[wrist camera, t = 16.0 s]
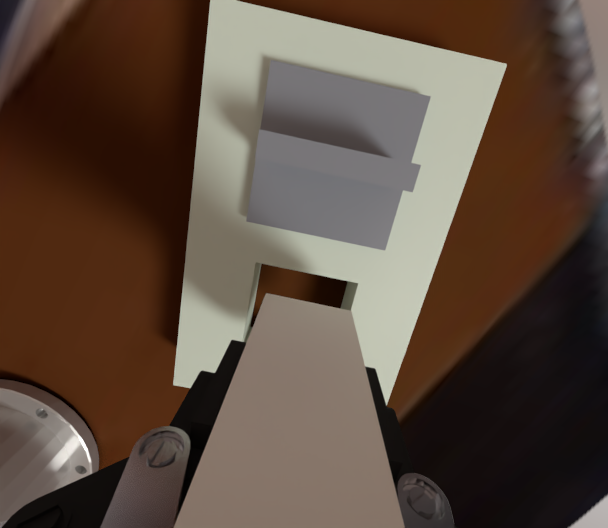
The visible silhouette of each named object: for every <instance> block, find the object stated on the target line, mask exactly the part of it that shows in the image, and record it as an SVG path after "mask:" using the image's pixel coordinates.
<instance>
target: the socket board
mask: <svg viewBox="0 0 608 528" xmlns="http://www.w3.org/2000/svg"><path fill="white" fill-rule="evenodd" d="M271 60H274V61H279V62H283V63H287V64H292V65H296V66H300V67H305V68H309V69H313V70H318V71H322V72H326V73H331V74H335V75H340V76H344V77H348V78H353V79H357V80H361V81H366V82H370V83H374V84H379V85H383V86H388V87H392V88H396V89H401V90H405V91H409V92H414V93H418V94H422V95H427V96H431V98H430V101H429V105H428V108H427V111H426V115H425V118H424V121H423V125H422V128H421V131H420V135H419V138H418V142H417V145H416V148H415V152H414V155H413V158H412V162H411V163H415V164H419V165H421V167H420V170H419V173H418V177H417V180H416V183H415V186H414V190H413V192H409V191H404V190H403V192H402V196H401V199H400V202H399V206H398V209H397V212H396V216H395V219H394V222H393V226H392V229H391V233H390V236H389V239H388V243H387V246H386V249H385V251H384V250H380V249H375V248H370V247H365V246H361V245H356V244H351V243H346V242H342V241H337V240H332V239H327V238H323V237H318V236H313V235H308V234H303V233H299V232H294V231H289V230H284V229H280V228H275V227H270V226H265V225H261V224H256V223H251V222H246V220H247V213H248V206H249V200H250V193H251V187H252V180H253V174H254V167H255V161H256V158H255V154H256V148H257V141H258V134H259V129H260V128H261V121H262V115H263V108H264V101H265V95H266V88H267V82H268V75H269V69H270V62H271ZM506 66H507V64H504V63H500V62H496V61H492V60H487V59H483V58H479V57H475V56H470V55H466V54H462V53H458V52H453V51H449V50H445V49H441V48H436V47H432V46H428V45H424V44H419V43H415V42H411V41H407V40H402V39H398V38H394V37H390V36H385V35H381V34H377V33H373V32H368V31H364V30H360V29H356V28H351V27H347V26H343V25H339V24H334V23H330V22H326V21H322V20H317V19H313V18H309V17H305V16H300V15H296V14H292V13H288V12H283V11H279V10H275V9H271V8H266V7H262V6H258V5H254V4H249V3H245V2H241V1H237V0H210V9H209V19H208V29H207V40H206V50H205V60H204V71H203V81H202V92H201V102H200V112H199V123H198V133H197V144H196V154H195V164H194V175H193V185H192V195H191V206H190V216H189V227H188V237H187V247H186V258H185V268H184V279H183V289H182V299H181V310H180V320H179V330H178V341H177V351H176V362H175V372H174V382H173V385H176V386H182V387H187V388H191V387H192V385H193V383H194V381H195V380H196V378H197V376H198V374H199V373H200V371H207V372H212V373H215V372H216V370H217V368H218V366H219V364H220V362H221V360H222V358H223V356H224V354H225V352H226V350H227V348H228V346H229V344H230V342H231V340H236V341H241V342H246V343H247V340H248V338H249V335H250V333H251V330H252V328H253V327H251V321H252V315H253V309H254V304H255V298H256V292H257V287H258V281H259V275H260V269H261V264H267V265H271V266H276V267H281V268H286V269H291V270H296V271H301V272H305V273H310V274H315V275H320V276H325V277H330V278H335V279H339V280H344V281H348V282H347V286H346V289H345V293H344V297H343V301H342V304H341V308H340V309H345V310H350V311H352V315H353V320H354V324H355V328H356V332H357V336H358V340H359V344H360V348H361V352H362V356H363V360H364V364H365V367H370V368H375V369H376V372H377V376H378V379H379V382H380V386H381V389H382V393H383V396H384V399H385V403H386V406H387V403H388V400H389V397H390V394H391V392H392V389H393V386H394V383H395V380H396V377H397V375H398V372H399V369H400V366H401V363H402V360H403V358H404V355H405V352H406V349H407V346H408V343H409V341H410V338H411V335H412V332H413V329H414V327H415V324H416V321H417V318H418V315H419V312H420V310H421V307H422V304H423V301H424V298H425V295H426V293H427V290H428V287H429V284H430V281H431V278H432V276H433V273H434V270H435V267H436V264H437V261H438V259H439V256H440V253H441V250H442V247H443V244H444V242H445V239H446V236H447V233H448V230H449V227H450V225H451V222H452V219H453V216H454V213H455V210H456V208H457V205H458V202H459V199H460V196H461V194H462V191H463V188H464V185H465V182H466V179H467V177H468V174H469V171H470V168H471V165H472V162H473V160H474V157H475V154H476V151H477V148H478V145H479V143H480V140H481V137H482V134H483V131H484V128H485V126H486V123H487V120H488V117H489V114H490V111H491V109H492V106H493V103H494V100H495V97H496V94H497V92H498V89H499V86H500V83H501V80H502V77H503V75H504V72H505V69H506Z"/></svg>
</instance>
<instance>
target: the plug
mask: <svg viewBox="0 0 608 528" xmlns="http://www.w3.org/2000/svg"><path fill="white" fill-rule="evenodd" d="M174 528H405V527H404V522H403V518H402V514H401V510H400V506H399V502H398V498H397V494H396V490H395V486H394V482H393V478H392V474H391V470H390V466H389V462H388V458H387V453H386V449H385V445H384V441H383V437H382V433H381V429H380V425H379V421H378V417H377V413H376V409H375V405H374V401H373V397H372V393H371V389H370V384H369V380H368V376H367V372H366V368H365V364H364V360H363V356H362V352H361V348H360V344H359V340H358V336H357V332H356V328H355V324H354V320H353V315H352V311H350V310H345V309H340V308H335V307H331V306H326V305H321V304H316V303H311V302H306V301H302V300H297V299H292V298H287V297H282V296H277V295H273V294H268V293H266V295H265V297H264V300H263V302H262V305H261V308H260V310H259V313H258V315H257V318H256V320H255V323H254V325H253V328H252V330H251V333H250V335H249V338H248V340H247V343H246V346H245V348H244V351H243V353H242V356H241V358H240V361H239V363H238V366H237V368H236V371H235V373H234V376H233V378H232V381H231V384H230V386H229V389H228V391H227V394H226V396H225V399H224V401H223V404H222V406H221V409H220V411H219V414H218V416H217V419H216V422H215V424H214V427H213V429H212V432H211V434H210V437H209V439H208V442H207V444H206V447H205V449H204V452H203V454H202V457H201V460H200V462H199V465H198V467H197V470H196V472H195V475H194V477H193V480H192V482H191V485H190V487H189V490H188V492H187V495H186V498H185V500H184V503H183V505H182V508H181V510H180V513H179V515H178V518H177V520H176V523H175V525H174Z"/></svg>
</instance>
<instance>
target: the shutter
mask: <svg viewBox="0 0 608 528" xmlns="http://www.w3.org/2000/svg"><path fill="white" fill-rule="evenodd" d="M430 98H431V96H427V95H422V94H418V93H414V92H409V91H405V90H401V89H396V88H392V87H388V86H383V85H379V84H374V83H370V82H366V81H361V80H357V79H353V78H348V77H344V76H340V75H335V74H331V73H326V72H322V71H318V70H313V69H309V68H305V67H300V66H296V65H292V64H287V63H283V62H279V61H274V60H271V62H270V69H269V75H268V82H267V88H266V95H265V101H264V108H263V115H262V121H261V128H260V129H259V134H258V141H257V148H256V154H255V158H256V161H255V167H254V174H253V180H252V187H251V193H250V200H249V206H248V213H247V220H246V222H251V223H256V224H261V225H265V226H270V227H275V228H280V229H284V230H289V231H294V232H299V233H303V234H308V235H313V236H318V237H323V238H327V239H332V240H337V241H342V242H346V243H351V244H356V245H361V246H365V247H370V248H375V249H380V250H384V251H385V249H386V246H387V243H388V239H389V236H390V233H391V229H392V226H393V222H394V219H395V216H396V212H397V209H398V206H399V202H400V199H401V196H402V192H403V190H404V191H409V192H413V190H414V186H415V183H416V180H417V177H418V173H419V170H420V167H421V165H419V164H415V163H411V162H412V158H413V155H414V152H415V148H416V145H417V142H418V138H419V135H420V131H421V128H422V125H423V121H424V118H425V115H426V111H427V108H428V105H429V101H430Z"/></svg>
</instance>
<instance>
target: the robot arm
mask: <svg viewBox="0 0 608 528" xmlns="http://www.w3.org/2000/svg"><path fill="white" fill-rule="evenodd" d="M245 346H246V342H241V341H236V340H231V342H230V344H229V346H228V348H227V350H226V352H225V354H224V356H223V358H222V360H221V362H220V364H219V366H218V368H217V370H216V372H215V373H212V372H207V371H200V373H199V374H198V376H197V378H196V380H195V381H194V383H193V385H192V387H191V388H190V390H189V392H188V394H187V395H186V397H185V399H184V401H183V402H182V404H181V406H180V408H179V410H178V411H177V413H176V415H175V417H174V418H173V420H172V422H171V424H170V425H169V426H165V427H159V428H156V429H153V430H151V431H149V432H147V433H146V434H144V435H143V436H142V437H141V438H140V439H139V440H138V441H137V443H136V444H135V446H134V447H133V450H132V452H131V455H130V457H128V458H126V459H123V460H121V461H119V462H117V463H115V464H112V465H110V466H108V467H106V468H103V469H101V470H99V471H98V467H99V454H98V449H97V445H96V442H95V440H94V437H93V435H92V433H91V431H90V430H89V428H88V427H87V425H86V424H85V422H84V421H83V420H82V419H81V418H80V417H79V416H78V415H77V413H76V412H75V411H74V410H73V409H71V408H70V407H69V406H68V405H66V404H65V403H64V402H63V401H61V400H60V399H58V398H56V397H55V396H53V395H51V394H50V393H48V392H46V391H44V390H41V389H39V388H36V387H34V386H32V385H29V384H25V383H21V382H17V381H13V380H4V379H0V528H174V525H175V523H176V520H177V518H178V515H179V513H180V510H181V508H182V505H183V503H184V500H185V498H186V495H187V492H188V490H189V487H190V485H191V482H192V480H193V477H194V475H195V472H196V470H197V467H198V465H199V462H200V460H201V457H202V454H203V452H204V449H205V447H206V444H207V442H208V439H209V437H210V434H211V432H212V429H213V427H214V424H215V422H216V419H217V416H218V414H219V411H220V409H221V406H222V404H223V401H224V399H225V396H226V394H227V391H228V389H229V386H230V384H231V381H232V378H233V376H234V373H235V371H236V368H237V366H238V363H239V361H240V358H241V356H242V353H243V351H244V348H245ZM365 368H366V372H367V376H368V380H369V384H370V389H371V393H372V397H373V401H374V405H375V409H376V413H377V417H378V421H379V425H380V429H381V433H382V437H383V441H384V445H385V449H386V453H387V458H388V462H389V466H390V470H391V474H392V478H393V482H394V486H395V490H396V494H397V498H398V502H399V506H400V510H401V514H402V518H403V522H404V527H405V528H458V527H457V526H456V525H455V524H454V521H453V517H452V513H451V508H450V505H449V503H448V500H447V498H446V497H445V495H444V493H443V492H442V491H441V490H440V488H439V487H438V486H437V485H436V484H435V483H433V482H432V481H431V480H429V479H428V478H426V477H424V476H422V475H420V474H415V473H414V470H413V467H412V463H411V460H410V457H409V454H408V451H407V448H406V445H405V442H404V439H403V435H402V432H401V429H400V426H399V423H398V420H397V417H396V414H395V411H394V410H393V409H392V408H389V407H387V406H386V403H385V399H384V396H383V393H382V389H381V386H380V382H379V379H378V376H377V372H376V369H375V368H370V367H365Z"/></svg>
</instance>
